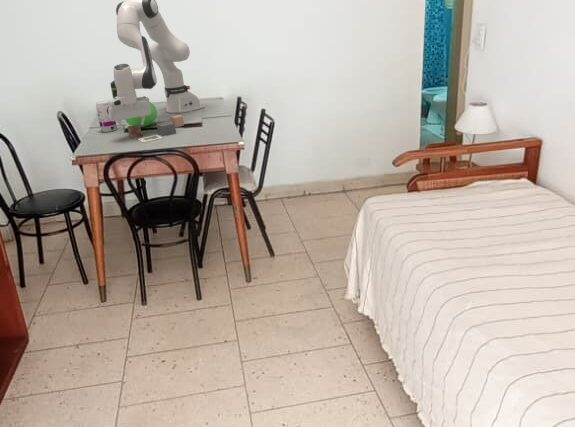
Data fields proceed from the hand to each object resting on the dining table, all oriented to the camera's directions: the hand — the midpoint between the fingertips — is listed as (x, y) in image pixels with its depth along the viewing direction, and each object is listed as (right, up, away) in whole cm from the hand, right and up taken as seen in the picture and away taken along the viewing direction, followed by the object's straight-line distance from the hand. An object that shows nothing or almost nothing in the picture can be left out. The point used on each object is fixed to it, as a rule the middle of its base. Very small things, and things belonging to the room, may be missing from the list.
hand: (132, 127), depth 259 cm
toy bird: (-1, +4, +21) cm, 21 cm away
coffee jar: (-24, +20, +61) cm, 68 cm away
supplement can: (-18, +1, +18) cm, 25 cm away
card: (+10, -7, -5) cm, 13 cm away
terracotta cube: (+19, +3, +16) cm, 25 cm away
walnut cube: (+1, -4, +2) cm, 5 cm away
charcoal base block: (+16, -3, +3) cm, 17 cm away
